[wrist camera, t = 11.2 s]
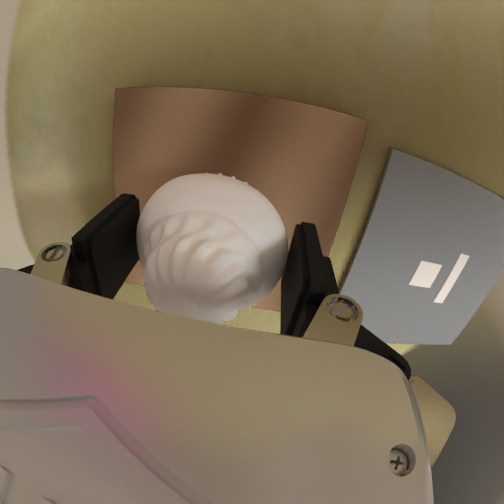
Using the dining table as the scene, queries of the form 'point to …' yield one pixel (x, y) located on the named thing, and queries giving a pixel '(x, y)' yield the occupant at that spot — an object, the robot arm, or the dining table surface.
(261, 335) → the robot arm
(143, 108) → the walnut pad
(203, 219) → the muffin
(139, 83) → the dining table surface
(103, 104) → the dining table surface
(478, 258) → the tile
